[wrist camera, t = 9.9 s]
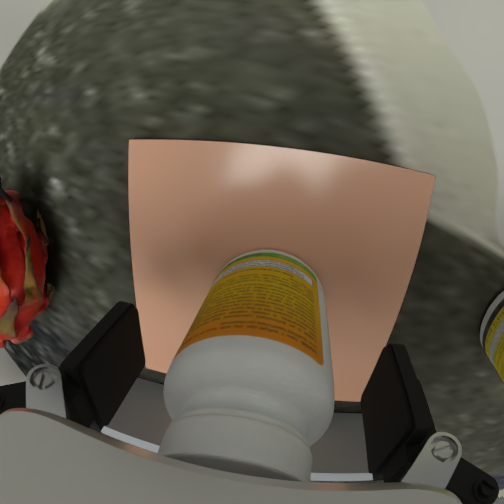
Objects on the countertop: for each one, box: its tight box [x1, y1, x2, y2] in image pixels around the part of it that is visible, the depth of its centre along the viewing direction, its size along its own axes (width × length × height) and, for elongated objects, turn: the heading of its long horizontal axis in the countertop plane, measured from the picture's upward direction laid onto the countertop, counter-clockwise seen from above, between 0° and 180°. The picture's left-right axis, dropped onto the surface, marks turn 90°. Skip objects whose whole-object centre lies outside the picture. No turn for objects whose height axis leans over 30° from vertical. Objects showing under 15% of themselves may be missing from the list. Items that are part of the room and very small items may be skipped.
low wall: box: [101, 378, 373, 481], centre depth 16 cm, size 18×1×5 cm, turn 85°
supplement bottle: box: [157, 250, 335, 482], centre depth 10 cm, size 5×5×10 cm
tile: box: [128, 139, 435, 402], centre depth 15 cm, size 14×14×1 cm
